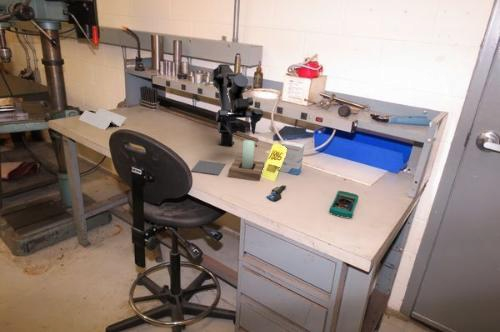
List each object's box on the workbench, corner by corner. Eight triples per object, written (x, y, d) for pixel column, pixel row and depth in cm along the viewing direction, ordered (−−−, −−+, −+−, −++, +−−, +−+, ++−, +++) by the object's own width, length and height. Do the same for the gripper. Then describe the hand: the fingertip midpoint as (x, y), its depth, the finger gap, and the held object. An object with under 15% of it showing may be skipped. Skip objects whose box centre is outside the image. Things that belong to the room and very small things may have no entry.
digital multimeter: (328, 215, 111) (329, 207, 110) (336, 196, 124) (338, 188, 123) (351, 221, 109) (352, 213, 107) (357, 201, 121) (359, 193, 120)
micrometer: (275, 199, 115) (263, 194, 118) (274, 204, 116) (262, 198, 118) (294, 187, 123) (282, 182, 126) (293, 191, 124) (282, 187, 127)
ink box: (301, 171, 141) (305, 144, 136) (297, 175, 137) (301, 147, 132) (282, 166, 144) (285, 139, 140) (277, 170, 140) (280, 143, 135)
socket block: (235, 165, 142) (235, 158, 141) (263, 168, 141) (264, 162, 139) (228, 176, 131) (228, 169, 130) (259, 181, 130) (260, 173, 129)
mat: (199, 161, 143) (199, 160, 143) (225, 164, 142) (225, 163, 142) (190, 171, 133) (190, 170, 133) (218, 175, 132) (218, 174, 132)
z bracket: (113, 136, 177) (104, 130, 172) (87, 125, 191) (78, 119, 186) (126, 117, 180) (118, 110, 175) (100, 108, 194) (91, 101, 189)
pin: (242, 169, 138) (244, 139, 133) (253, 171, 138) (255, 140, 133) (240, 174, 134) (242, 142, 129) (251, 175, 134) (253, 144, 129)
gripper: (218, 89, 133) (224, 125, 127) (263, 89, 138) (271, 124, 133) (213, 104, 143) (218, 138, 137) (256, 104, 148) (262, 136, 143)
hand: (242, 134), depth 137 cm, fingers open, 9 cm apart
